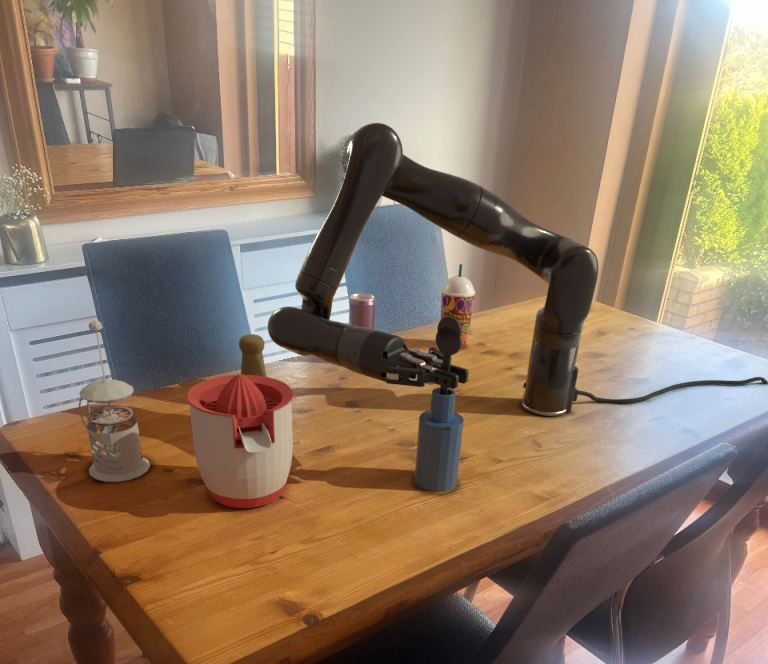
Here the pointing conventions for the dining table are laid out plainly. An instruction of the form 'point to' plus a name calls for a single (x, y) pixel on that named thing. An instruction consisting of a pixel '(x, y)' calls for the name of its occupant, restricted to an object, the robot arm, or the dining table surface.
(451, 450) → the bottle
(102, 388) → the french press
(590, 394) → the robot arm
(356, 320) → the beverage can
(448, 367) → the spoon
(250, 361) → the cork
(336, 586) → the dining table surface
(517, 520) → the dining table surface
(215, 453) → the citrus juicer
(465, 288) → the smoothie
